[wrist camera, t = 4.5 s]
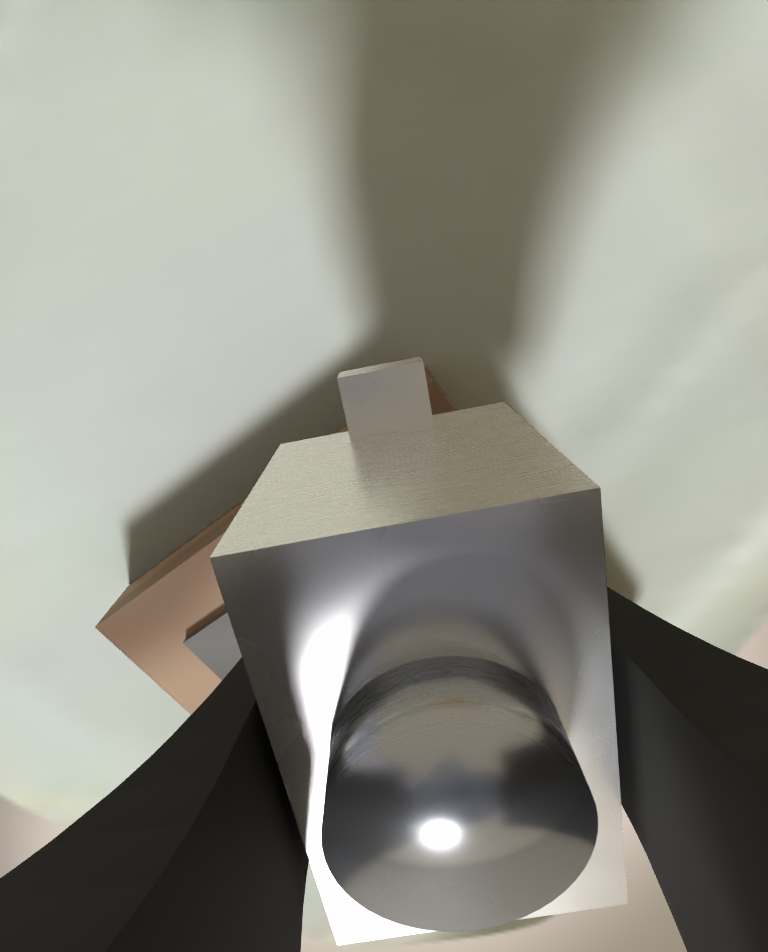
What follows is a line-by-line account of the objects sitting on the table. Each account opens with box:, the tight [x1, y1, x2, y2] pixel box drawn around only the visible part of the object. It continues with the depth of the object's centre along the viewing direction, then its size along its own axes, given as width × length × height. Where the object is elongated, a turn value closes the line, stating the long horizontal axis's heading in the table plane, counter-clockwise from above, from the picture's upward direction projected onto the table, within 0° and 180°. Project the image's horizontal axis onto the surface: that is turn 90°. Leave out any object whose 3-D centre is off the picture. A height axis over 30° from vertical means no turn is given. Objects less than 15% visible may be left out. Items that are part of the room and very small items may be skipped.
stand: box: [95, 367, 456, 715], centre depth 19 cm, size 13×13×3 cm
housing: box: [210, 356, 628, 945], centre depth 9 cm, size 5×9×6 cm, turn 11°
